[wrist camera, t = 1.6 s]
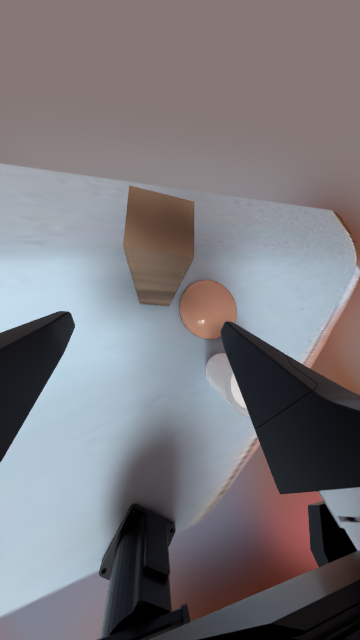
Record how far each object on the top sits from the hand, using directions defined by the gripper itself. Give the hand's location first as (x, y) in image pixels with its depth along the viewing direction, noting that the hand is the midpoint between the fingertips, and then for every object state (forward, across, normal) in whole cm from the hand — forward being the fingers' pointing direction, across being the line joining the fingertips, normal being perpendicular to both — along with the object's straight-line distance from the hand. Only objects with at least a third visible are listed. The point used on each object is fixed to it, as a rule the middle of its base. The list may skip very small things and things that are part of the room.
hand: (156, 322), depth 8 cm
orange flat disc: (+12, -9, +6) cm, 16 cm away
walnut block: (+14, 0, +4) cm, 14 cm away
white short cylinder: (+5, -11, +13) cm, 18 cm away
